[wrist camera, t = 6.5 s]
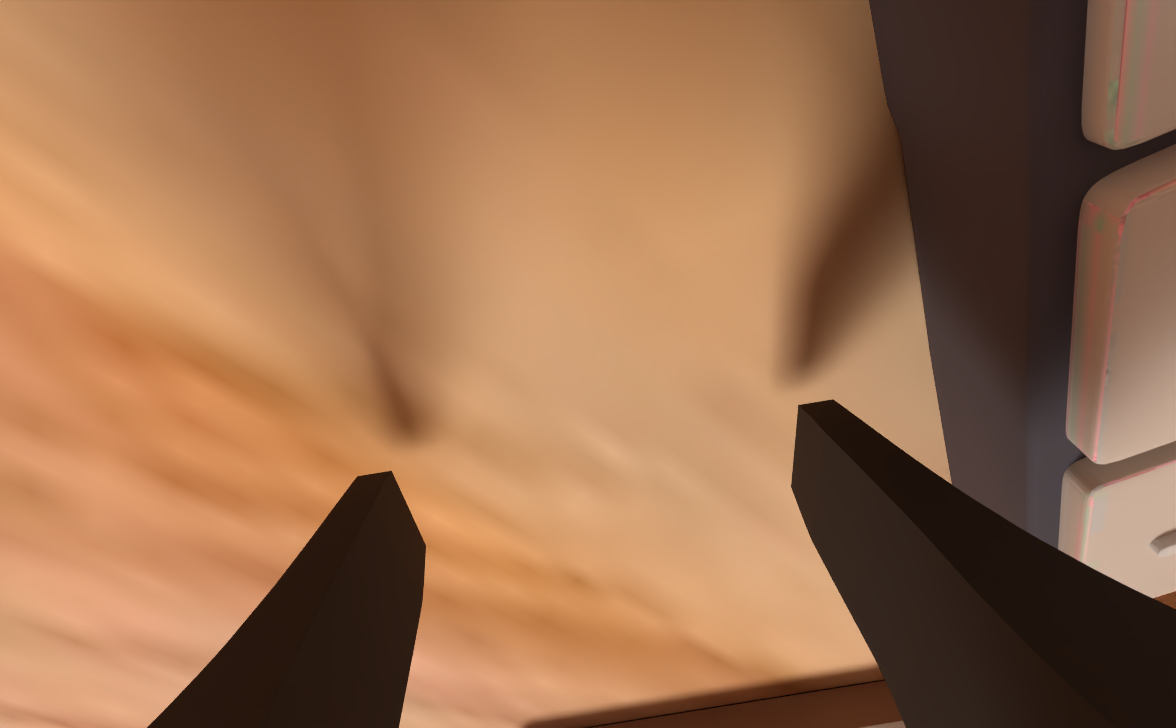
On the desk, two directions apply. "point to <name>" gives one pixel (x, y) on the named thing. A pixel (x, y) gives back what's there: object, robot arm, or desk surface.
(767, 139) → the desk surface
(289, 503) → the desk surface
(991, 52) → the calculator
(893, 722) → the track
